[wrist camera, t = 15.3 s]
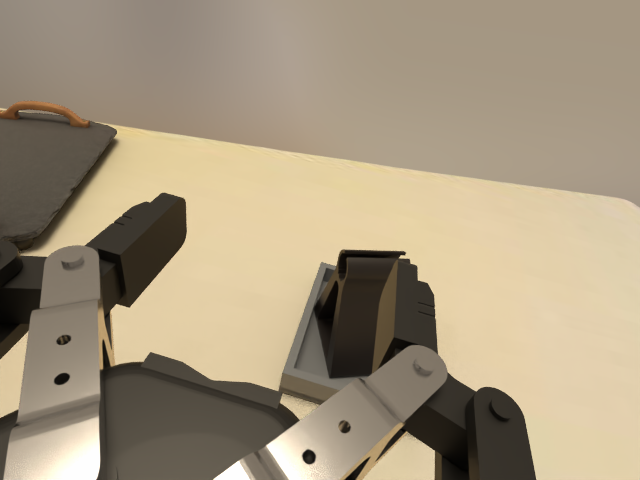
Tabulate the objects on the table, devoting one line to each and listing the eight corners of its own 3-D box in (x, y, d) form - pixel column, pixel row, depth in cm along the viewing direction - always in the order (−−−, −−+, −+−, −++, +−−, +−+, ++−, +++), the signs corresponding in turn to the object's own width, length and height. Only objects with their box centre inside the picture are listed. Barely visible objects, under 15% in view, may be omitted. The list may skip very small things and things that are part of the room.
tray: (278, 391, 35) (282, 372, 33) (317, 279, 48) (321, 262, 46) (420, 435, 34) (432, 418, 32) (419, 308, 47) (427, 292, 46)
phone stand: (386, 375, 37) (427, 290, 30) (328, 378, 36) (358, 290, 29) (362, 308, 44) (391, 227, 37) (313, 309, 43) (334, 224, 36)
